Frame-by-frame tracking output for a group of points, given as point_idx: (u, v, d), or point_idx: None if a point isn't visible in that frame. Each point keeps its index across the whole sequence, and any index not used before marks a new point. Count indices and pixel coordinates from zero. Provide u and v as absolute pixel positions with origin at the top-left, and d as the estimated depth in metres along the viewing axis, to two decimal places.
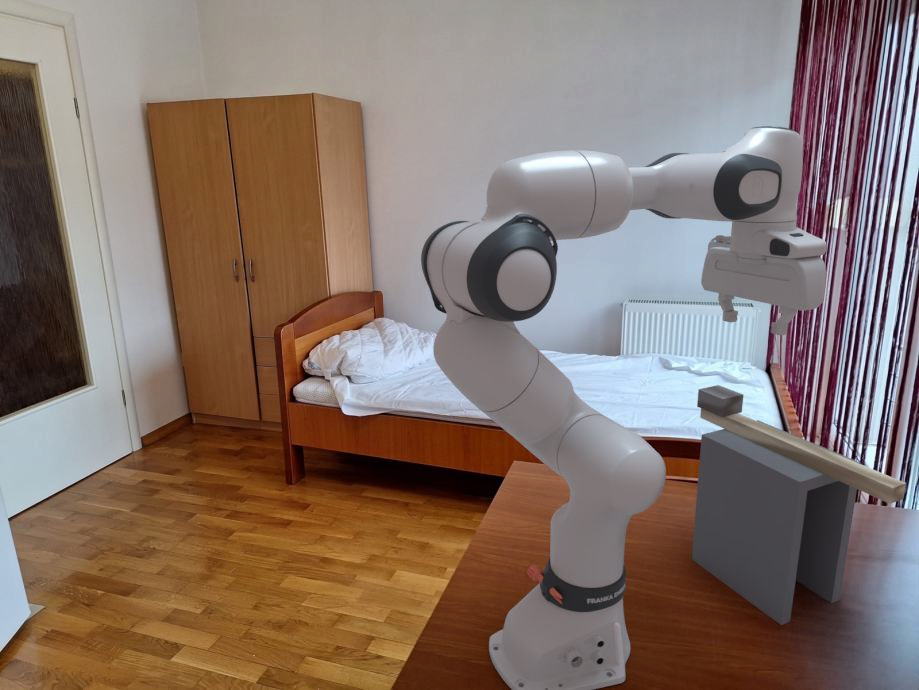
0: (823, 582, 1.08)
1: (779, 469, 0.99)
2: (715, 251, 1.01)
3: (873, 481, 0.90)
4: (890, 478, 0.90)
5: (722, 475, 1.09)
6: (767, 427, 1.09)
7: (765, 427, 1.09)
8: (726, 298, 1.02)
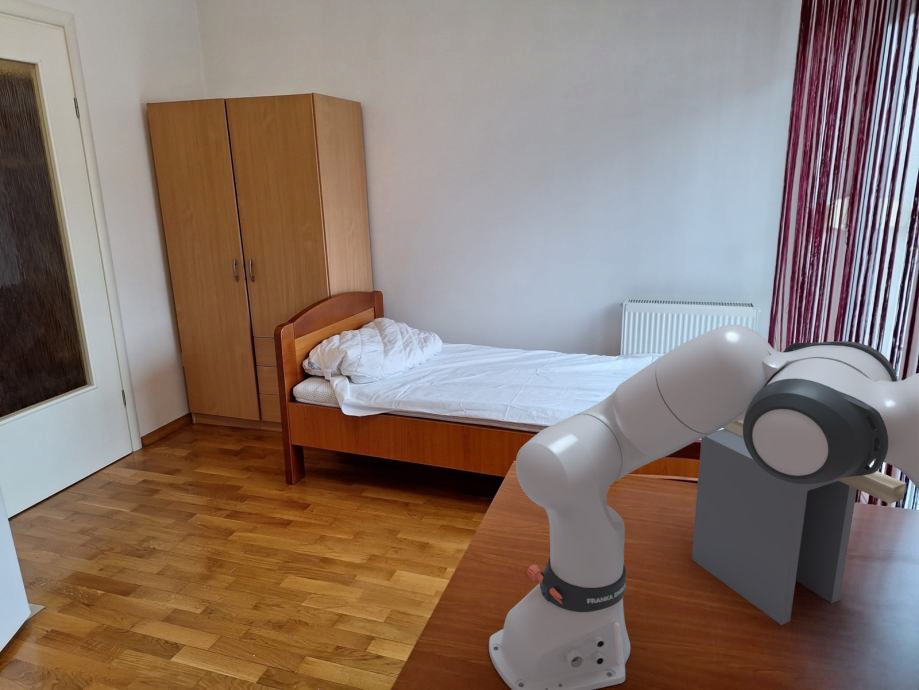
0: (823, 582, 1.08)
1: None
2: None
3: (873, 481, 0.90)
4: (890, 478, 0.90)
5: (722, 475, 1.09)
6: None
7: None
8: None
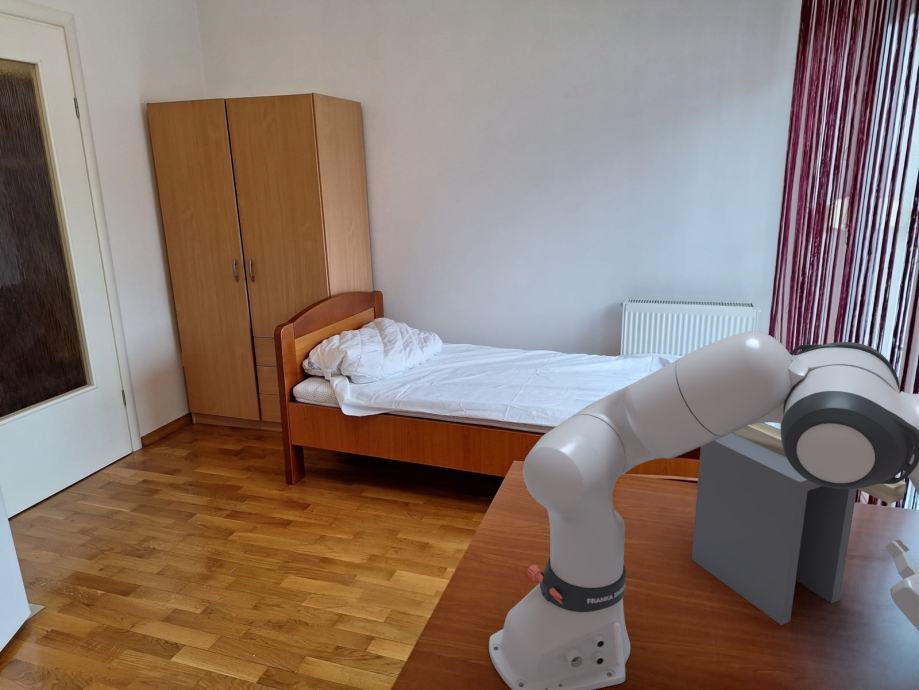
0: (823, 582, 1.08)
1: (779, 469, 0.99)
2: None
3: None
4: None
5: (722, 475, 1.09)
6: (767, 427, 1.09)
7: (765, 427, 1.09)
8: None
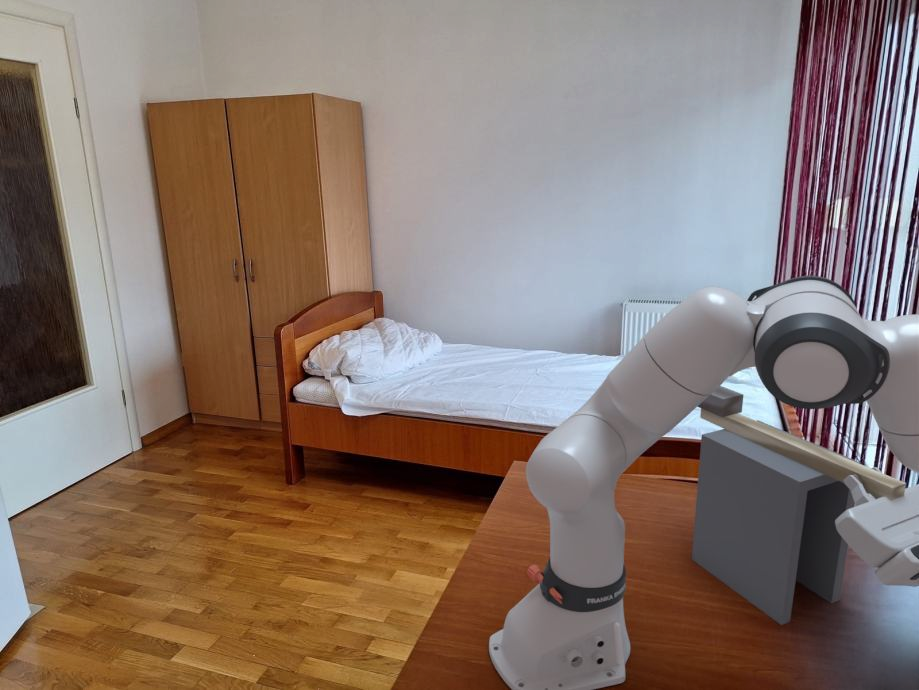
0: (823, 582, 1.08)
1: (779, 469, 0.99)
2: None
3: (873, 481, 0.90)
4: (890, 478, 0.90)
5: (722, 475, 1.09)
6: (767, 427, 1.09)
7: (765, 427, 1.09)
8: None
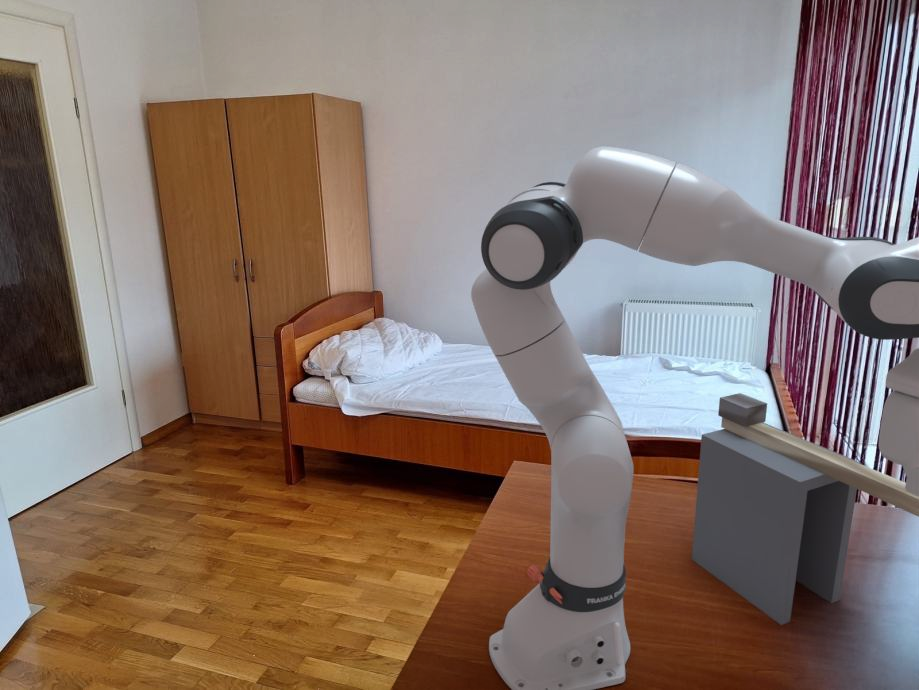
0: (823, 582, 1.08)
1: (779, 469, 0.99)
2: None
3: (910, 497, 0.86)
4: None
5: (722, 475, 1.09)
6: (793, 438, 1.04)
7: (791, 438, 1.04)
8: None
